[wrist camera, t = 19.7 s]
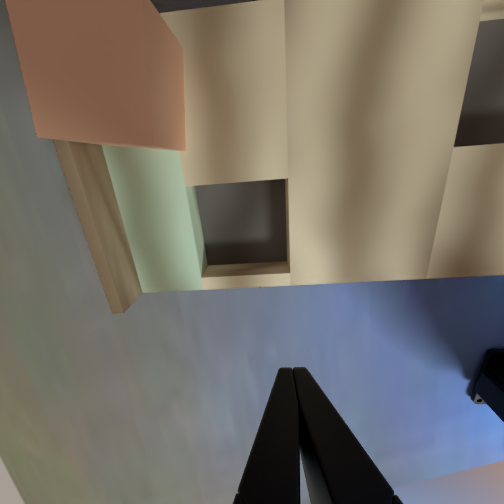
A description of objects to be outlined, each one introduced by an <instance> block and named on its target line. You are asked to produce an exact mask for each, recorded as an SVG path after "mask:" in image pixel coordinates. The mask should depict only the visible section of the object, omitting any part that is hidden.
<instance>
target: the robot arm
mask: <svg viewBox="0 0 504 504" xmlns="http://www.w3.org/2000/svg"><path fill="white" fill-rule="evenodd" d="M471 400H472V401H473V402H474V403H475V404H487V405H488V406H489V407H490V408H491V409H492V410H493V411H494V412H495V413H496V414H497V415H498V416H499V418H500V419H501V420H502V421H503V422H504V349H492V350H489V351H488V352H487V353H486V355H485V358H484V360H483V363H482V366H481V369H480V372H479V375H478V377H477V380H476V383H475V386H474V389H473V392H472V394H471ZM300 454H301V459H302V464H303V469H304V473H305V478H306V483H307V488H308V492H309V497H310V502H311V504H403V503H402V501H401V500H400V499H399V497H398V496H397V495H394V491H393V489H392V488H391V486H390V485H389V483H388V482H387V481H386V479H385V478H384V476H383V475H382V474H381V472H380V471H379V469H378V468H377V467H376V465H375V464H374V462H373V461H372V460H371V458H370V457H369V455H368V454H367V453H366V451H365V450H364V448H363V447H362V446H361V444H360V443H359V441H358V440H357V439H356V437H355V436H354V434H353V433H352V431H351V430H350V429H349V427H348V426H347V424H346V423H345V422H344V420H343V419H342V417H341V416H340V415H339V413H338V412H337V410H336V409H335V408H334V406H333V405H332V403H331V402H330V401H329V399H328V398H327V396H326V395H325V394H324V392H323V391H322V389H321V388H320V387H319V385H318V384H317V382H316V381H315V380H314V378H313V377H312V375H311V374H310V372H309V371H308V370H307V369H306V368H305V367H294V368H293V370H292V368H290V367H287V368H280V369H279V370H278V373H277V376H276V379H275V382H274V385H273V388H272V391H271V394H270V397H269V399H268V402H267V405H266V408H265V411H264V414H263V417H262V420H261V423H260V426H259V429H258V432H257V435H256V438H255V441H254V444H253V446H252V449H251V452H250V455H249V458H248V461H247V464H246V467H245V470H244V473H243V476H242V479H241V482H240V485H239V488H238V493H237V494H236V496H235V499H234V502H233V504H300Z"/></svg>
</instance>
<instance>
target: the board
mask: <svg viewBox="0 0 504 504" xmlns="http://www.w3.org/2000/svg"><path fill="white" fill-rule="evenodd" d="M4 1H5V0H4ZM5 3H6V2H5ZM159 14H160V15H161V17H162V18H163V20H164V21H165V23H166V24H167V26H168V27H169V29H170V30H171V32H172V33H173V34H174V36H175V37H176V39H177V40H178V42H179V43H180V45H181V46H182V48H183V64H184V100H185V136H186V151H175V150H161V149H148V148H135V147H122V146H109V145H99V144H90V143H82V142H74V141H65V140H57V139H52V140H53V143H54V146H55V149H56V152H57V155H58V158H59V161H60V164H61V167H62V169H63V172H64V175H65V178H66V181H67V184H68V187H69V190H70V193H71V196H72V199H73V201H74V204H75V207H76V210H77V213H78V216H79V219H80V222H81V225H82V228H83V231H84V233H85V236H86V239H87V242H88V245H89V248H90V251H91V254H92V257H93V260H94V263H95V266H96V268H97V271H98V274H99V277H100V280H101V283H102V286H103V289H104V292H105V295H106V298H107V300H108V303H109V306H110V309H111V312H112V314H115V313H124V312H125V311H126V310H127V309H128V308H129V307H130V306H131V305H132V304H133V303H134V301H135V300H136V299H137V298H138V297H139V296H140V295H141V294H142V293H146V292H167V291H187V290H208V289H228V288H248V287H269V286H289V285H310V284H330V283H351V282H371V281H392V280H412V279H433V278H453V277H474V276H494V275H504V0H258V1H251V2H243V3H235V4H227V5H219V6H212V7H204V8H196V9H188V10H180V11H173V12H165V13H159Z"/></svg>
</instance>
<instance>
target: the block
mask: <svg viewBox="0 0 504 504" xmlns="http://www.w3.org/2000/svg"><path fill="white" fill-rule="evenodd" d="M5 2H6V6H7V10H8V14H9V19H10V23H11V27H12V32H13V36H14V40H15V44H16V49H17V53H18V57H19V62H20V66H21V70H22V74H23V79H24V83H25V87H26V92H27V96H28V100H29V104H30V109H31V113H32V117H33V122H34V126H35V130H36V134H37V137H40V138H48V139H57V140H65V141H74V142H82V143H90V144H99V145H109V146H122V147H135V148H148V149H161V150H175V151H186V136H185V100H184V64H183V48H182V46H181V45H180V43H179V42H178V40H177V39H176V37H175V36H174V34H173V33H172V32H171V30H170V29H169V27H168V26H167V24H166V23H165V21H164V20H163V18H162V17H161V15H160V14H159V12H158V11H157V10H156V8H155V7H154V5H153V4H152V2H151V1H150V0H5Z"/></svg>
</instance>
